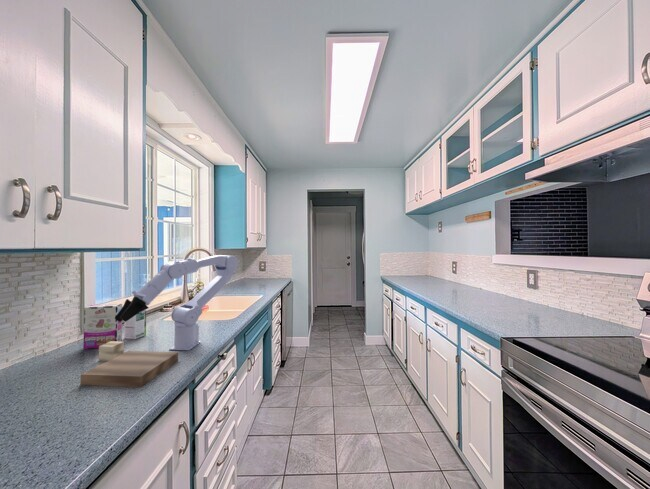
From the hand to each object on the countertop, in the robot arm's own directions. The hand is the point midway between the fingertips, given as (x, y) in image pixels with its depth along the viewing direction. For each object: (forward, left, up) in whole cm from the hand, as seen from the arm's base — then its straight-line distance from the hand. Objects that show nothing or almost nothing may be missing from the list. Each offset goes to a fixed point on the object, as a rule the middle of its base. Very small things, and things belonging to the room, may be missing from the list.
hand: (119, 319), depth 89 cm
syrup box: (-30, -17, -16) cm, 38 cm away
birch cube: (-8, -9, -16) cm, 20 cm away
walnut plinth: (+2, +7, -16) cm, 17 cm away
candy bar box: (-18, -21, -16) cm, 32 cm away
